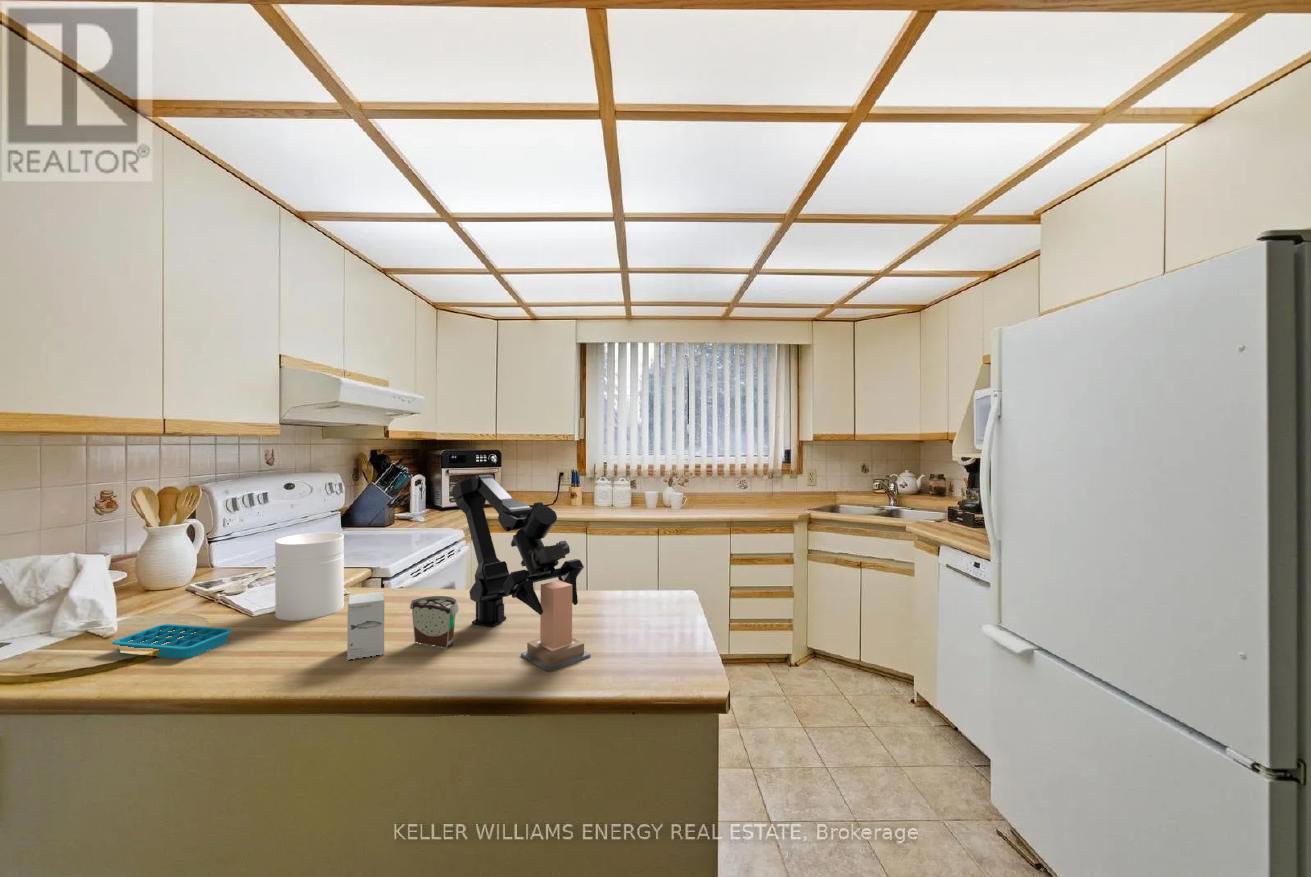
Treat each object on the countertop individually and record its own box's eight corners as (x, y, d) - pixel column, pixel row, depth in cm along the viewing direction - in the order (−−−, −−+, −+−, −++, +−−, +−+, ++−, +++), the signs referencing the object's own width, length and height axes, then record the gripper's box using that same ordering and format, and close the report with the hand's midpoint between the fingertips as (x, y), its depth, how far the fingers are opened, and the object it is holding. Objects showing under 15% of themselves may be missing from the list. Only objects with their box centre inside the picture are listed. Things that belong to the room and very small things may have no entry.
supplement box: (346, 662, 118) (346, 604, 117) (348, 649, 124) (347, 594, 124) (384, 655, 121) (384, 599, 121) (384, 643, 128) (384, 590, 127)
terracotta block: (540, 642, 122) (540, 584, 121) (558, 636, 125) (559, 580, 125) (553, 648, 118) (553, 589, 118) (571, 642, 122) (572, 584, 121)
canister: (355, 607, 152) (355, 536, 152) (292, 625, 139) (292, 547, 138) (326, 597, 161) (325, 530, 160) (264, 612, 147) (263, 539, 147)
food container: (469, 640, 130) (470, 598, 130) (452, 649, 125) (452, 606, 124) (428, 633, 134) (428, 593, 134) (409, 642, 129) (409, 600, 128)
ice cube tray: (163, 635, 132) (163, 623, 132) (236, 641, 129) (236, 629, 129) (108, 656, 120) (108, 642, 120) (187, 662, 117) (186, 649, 117)
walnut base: (520, 655, 122) (520, 642, 122) (561, 642, 129) (561, 629, 129) (548, 672, 114) (548, 657, 114) (590, 656, 122) (590, 642, 122)
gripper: (509, 535, 117) (537, 598, 110) (579, 525, 130) (608, 580, 123) (491, 565, 123) (516, 626, 115) (560, 552, 136) (586, 606, 129)
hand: (559, 608), depth 120 cm, fingers open, 9 cm apart
